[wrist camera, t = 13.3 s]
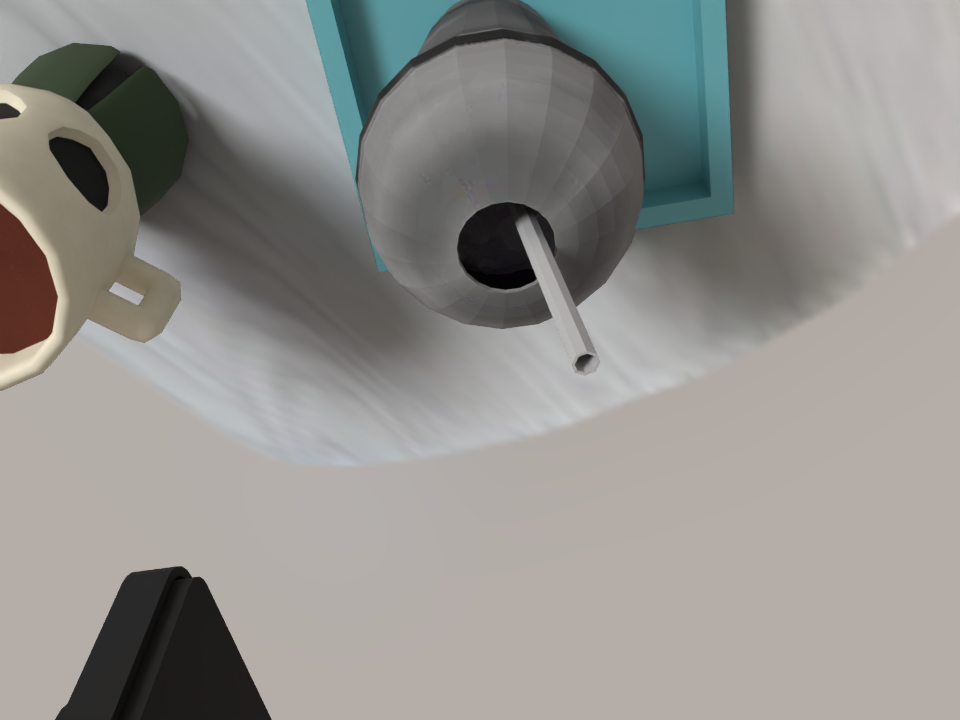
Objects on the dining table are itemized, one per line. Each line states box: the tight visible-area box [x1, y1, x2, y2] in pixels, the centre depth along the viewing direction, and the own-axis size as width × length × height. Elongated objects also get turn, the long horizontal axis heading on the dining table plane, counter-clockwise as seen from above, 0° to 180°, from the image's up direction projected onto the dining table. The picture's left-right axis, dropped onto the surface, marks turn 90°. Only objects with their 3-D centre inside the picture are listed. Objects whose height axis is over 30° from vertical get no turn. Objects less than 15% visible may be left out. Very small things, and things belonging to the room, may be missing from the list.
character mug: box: [0, 43, 188, 391], centre depth 29 cm, size 11×7×13 cm, turn 58°
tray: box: [306, 0, 734, 272], centre depth 32 cm, size 14×14×2 cm
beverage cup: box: [355, 0, 645, 375], centre depth 24 cm, size 7×7×20 cm
